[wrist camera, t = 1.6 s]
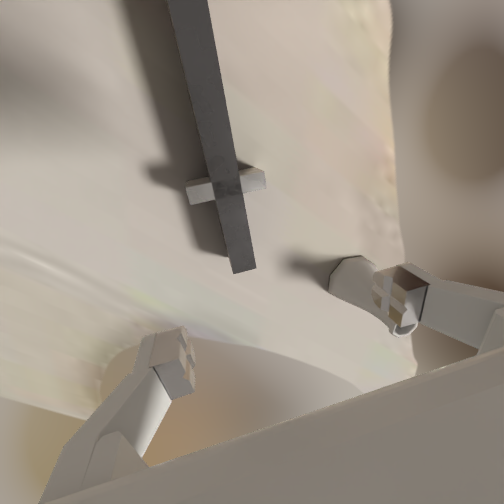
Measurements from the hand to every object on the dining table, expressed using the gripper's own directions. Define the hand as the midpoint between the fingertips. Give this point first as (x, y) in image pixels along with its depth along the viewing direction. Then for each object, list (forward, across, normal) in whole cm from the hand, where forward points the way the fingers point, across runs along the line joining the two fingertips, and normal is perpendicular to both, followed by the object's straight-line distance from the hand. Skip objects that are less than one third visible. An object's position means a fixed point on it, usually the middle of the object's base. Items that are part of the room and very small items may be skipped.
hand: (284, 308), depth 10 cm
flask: (+18, -15, +14) cm, 27 cm away
